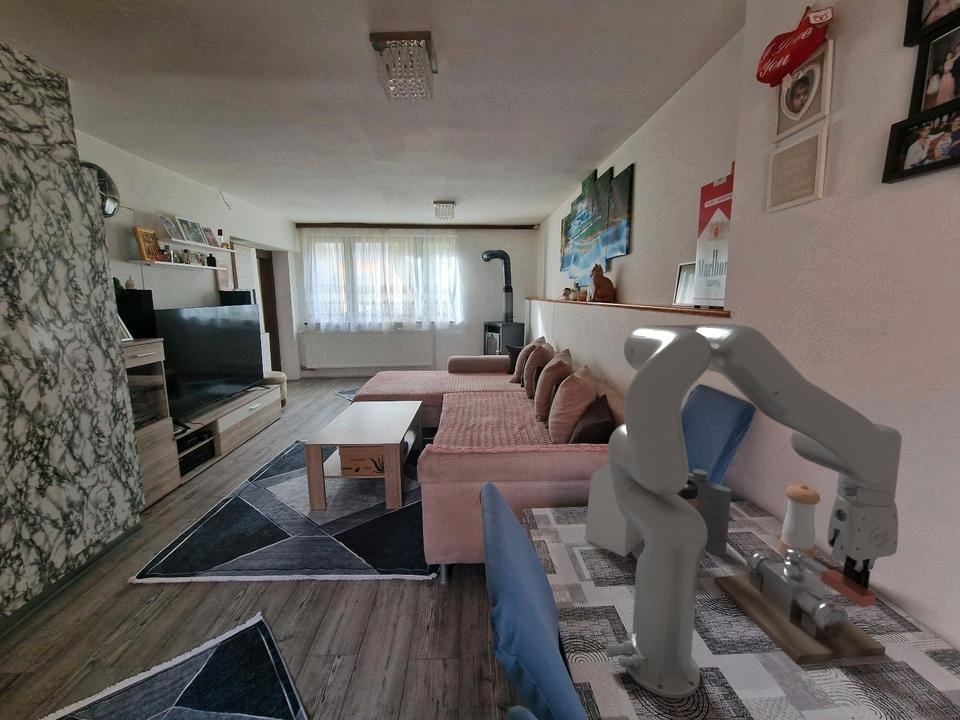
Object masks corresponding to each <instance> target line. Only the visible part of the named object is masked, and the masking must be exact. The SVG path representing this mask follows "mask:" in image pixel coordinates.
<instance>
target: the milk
mask: <svg viewBox="0 0 960 720" xmlns="http://www.w3.org/2000/svg"><path fill="white" fill-rule="evenodd" d="M587 502H588V504H587V513H586V521H585V522H586V523H585V531H584V532H585V533H584V540H585V541H587V542H589V543H591V544H594V545H596V546H597V547H601V548H603V549H606V550H608V551H610V552H612V553H614V554H617V555H618V556H619V555H620V557H623V558H625V557H626V556H627V555H629V553H631V552H632V551H633V550H634V549H635V548H636V547H637V546H638V545H639V544H640V543H641V542H643V541H644V539H643V537H642V536H641V534H640V533H639V532H638V531H637V530H636V529H635V528H634V527H633V526H632V525H631V523H630V522H629V521H628V520H627V519H626V518H625V517H624V515H623V514H622V513H621V511H620V509H619V507H618V504H617V501H616V497H615V492H614V487H613V482H612V477H611V471H610V466H609V461H608V462H607V463H605V464H603V465H602V466H601V467H599V468H598V469H596V470H595V471H594V472H593V473H592V475H591V476H590V481H589V493H588V501H587Z"/></svg>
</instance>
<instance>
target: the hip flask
mask: <svg viewBox="0 0 960 720" xmlns="http://www.w3.org/2000/svg"><path fill="white" fill-rule="evenodd" d="M708 475H709V474H708V472H707V471H706V470H703V469H698V468H695V469H692V472H689V476H688V480H691V481H693V482H695V483H696V484H697V485H698V499H697V511H698V512H699V514H700V515H701V516H702V518H703V520H704V522H705V524H706V527H707V532H708V538H707V543H706V546H705V549H704V551H705V550H706V551H708V552H710V553H712V554H714V555H717V556H721V557H725V556H726V554H727V546H728V535H729V532H728V531H729V522H730V512H731V510H730V509H731V499H732V489H731V488H730V487H727V486H723V485H721V484H718V483H715V482H712V481H710V480H707V477H708Z"/></svg>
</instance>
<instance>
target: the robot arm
mask: <svg viewBox="0 0 960 720" xmlns="http://www.w3.org/2000/svg"><path fill="white" fill-rule="evenodd" d="M623 345H624V346H623V355H624V358H625V360H626V362H627V363H628V365H629V366H630V367H632V368H633V369H634V370H636V371H637V372H636V374H635V376H634V377H633V378H632V380H631V381H630V384H629V385H628V387H627V389H626V392H625V396H624V401H623V402H624V403H623V415H624V423H623V424H621V425H619V426H618V427H616V428H615V430H614V431H613V432H612V433H611V435H610V437H609V441H608V444H607V458H608V460H607V461H608V462H609V466H610V471H611V477H612V482H613V487H614V492H615V497H616V501H617V504H618V507H619V509H620V511H621V513H622V514H623V515H624V517H625V518H626V519H627V520H628V521H629V522H630V523H631V525H632V526H633V527H634V528H635V529H636V530H637V531H638V532H639V533H640V534H641V536H642V537H643V541H644V548H643V550H642V552H641V553H640V555H639V556H638V558H637V562H636V566H635V585H634V587H635V588H634V601H633V603H634V604H633V620H632V632H628V633H626V639H625V640H622V641H621V643H616V642H615V643H614V642H613V643H606V644H605V646H604V648H605V654H606V656H607V658H612V657H613V658H617V657H618V658H617V659H618V665H619V666H620V667H621V668H625V670H626V671H627V673H628V674H629V676H630V677H631V678H632V679H633V680H634V681H635V682H636V683H637V684H638V685H640V686H641V687H642V688H644V689H645V690H647V691H648V692H651V693H653V694H654V695H657V696H660V697H663V698H667V699H676V700H679V699H685V698H689V697H691V696H692V695H693V694H695V693H696V692H697V690H699V687H700V684H701V683H700V682H701V672H700V669H699V665H698V664H697V662H696V660H695V658H693V656H692V653H693V652H692V649H693V640H694V638H693V636H694V625H695V611H696V602H697V600H696V599H697V597H696V596H697V587H698V586H697V585H698V578H699V577H698V576H699V571H700V566H701V561H702V557H703V555H704V551H705V546H706V543H707V538H708V532H707V527H706V524H705V522H704V520H703V518H702V516H701V515H700V514H699V512H698V511H697V510H696V509H695V508H694V507H693V506H692V505H691V504H689V503H688V502H687V501H686V500H684V499H683V498H682V497H680V496H679V495H677V493H679V492H680V491H681V490H682V489H683V488H684V487H685V485H686V483H687V481H688V476H689V473H690V472H689V469H690V468H689V461H688V456H687V455H688V453H687V449H686V448H687V447H686V443H685V436H684V435H685V434H684V431H683V430H684V429H683V424H682V423H683V422H682V421H683V420H682V406H683V401H684V399H685V396H686V395H687V394H688V392H689V390H690V389H691V387H692V386H694V385H695V383H696V382H697V381H698V380H699V379H700V378H701V377H702V375H704V373H705V372H706V371H710V372H714V373H718V374H720V375H721V376H723V377H724V378H725V379H726V380H728V382H730V384H732V385H733V387H735V389H737V391H739V392H740V394H742V396H744V397H745V398H746V399H747V401H749V402H750V403H751V404H752V405H753V406H754V407H755V408H756V409H757V410H758V411H759V412H760V413H761V414H762V415H764V416H766V417H767V418H769V419H771V420H772V421H775V422H777V423H779V424H781V425H782V426H784V427H787V428H789V429H790V430H793V432H792V434H791V435H790V444H791V447H792V449H793V451H794V452H795V453H796V454H797V455H798V456H799V457H800V458H803V459H804V460H806V461H808V462H811V463H813V464H816V465H817V466H821V467H822V468H826V469H829V470H832V471H834V472H837V473H838V479H837V490H836V496H835V500H834V502H833V506H832V509H831V513H830V518H829V522H828V529H827V530H828V531H827V543H828V544H827V545H828V546H829V547H831V548H832V551H831V553H830V556H831V558H833V559H834V560H836V561H838V562H842V563H843V564H844V565H843V572H842V574H843V575H844V576H846V577H848V578H849V579H851V580H853V581H854V582H856V583H858V584H859V585H861V586H863V587H864V588H866V589H867V590H869V585H870V584H869V583H870V577H871V571H872V570H873V569H874V567H875V561H876V560H877V559H878V558H884V557H890V556H893V555H895V554H896V553H897V550H898V541H899V539H898V537H899V515H898V508H897V503H896V502H895V500H896V492H897V484H898V475H899V474H898V473H899V466H900V459H901V458H900V457H901V450H902V441H903V439H902V435H901V433H900V431H898V430H897V429H896V428H893V427H891V426H887V425H885V424H879V423H873V422H872V421H871V420H870V419H868V418H867V417H866V416H865V415H863V414H862V413H861V412H859V411H858V410H857V409H855V408H853V407H852V406H850V405H848V404H846V403H845V402H843V401H842V400H840V399H838V398H837V397H835V396H834V395H832V394H830V393H829V392H828V391H826V390H824V389H822V388H821V387H820V386H817V385H816V384H814V383H813V382H812V383H811V381H809V380H808V379H806V378H805V377H804V376H803V375H802V374H801V372H800V371H798V370H797V369H796V367H795V366H793V364H792V363H791V362H790V360H788V359H787V358H786V357H785V356H784V355H783V354H782V352H781V351H779V349H777V347H776V346H775V345H773V343H772V342H771V341H770V340H769V339H768V338H767V336H765V335H764V333H762V332H761V331H759V330H757V329H756V328H755V327H754V328H753V327H751V326H748V325H742V324H728V323H727V324H726V323H699V324H698V323H696V324H695V323H694V324H675V325H674V324H670V325H666V324H665V325H663V324H662V325H644V326H640V327H638V328H636V329H634V330H633V331H632V332H630V334H629V335H628V336H627V337H626V339H625V341H624V344H623Z"/></svg>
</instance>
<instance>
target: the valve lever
mask: <svg viewBox="0 0 960 720" xmlns="http://www.w3.org/2000/svg"><path fill="white" fill-rule="evenodd" d="M785 558H787V559H788V560H790V562H792V563H794V564H797V565H800V564H801V565H803V566H804V567H806V570H809V571H810V572H812V573H813V574H815V575H816V576H818V577H820V578H821V579H820V580H821V581H820V582H822V583H823V584H825V585H827V586H828V587H830V588H831V589H832V590H834V591H835V592H837V593H838V594H840V595H842V596H843V597H845V598H846V599H848V600H850V601H851V602H853V603H854V604H856V605H857V606H858V607H861V608H867V607H871V606H872V607H873V606H876V598H877V594H876V593H874V592H872V590H871V591H870V590H869V589H868V590H867V589H866V588H864V587H863V586H861V585H859V584H858V583H856V582H854V581H853V580H851V579H849V578H848V577H846V576H844V575H843V573H841V572H839V571H838V570H836V569H829V568H828V567H825V566H824V565H822V564H821V563H819V562H818V561H815V559H814V560H813V559H811V558H809V557H808V556H806V552H805V551H803V550H802V549H799V548H796V547H787V549H786V557H785Z"/></svg>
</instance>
